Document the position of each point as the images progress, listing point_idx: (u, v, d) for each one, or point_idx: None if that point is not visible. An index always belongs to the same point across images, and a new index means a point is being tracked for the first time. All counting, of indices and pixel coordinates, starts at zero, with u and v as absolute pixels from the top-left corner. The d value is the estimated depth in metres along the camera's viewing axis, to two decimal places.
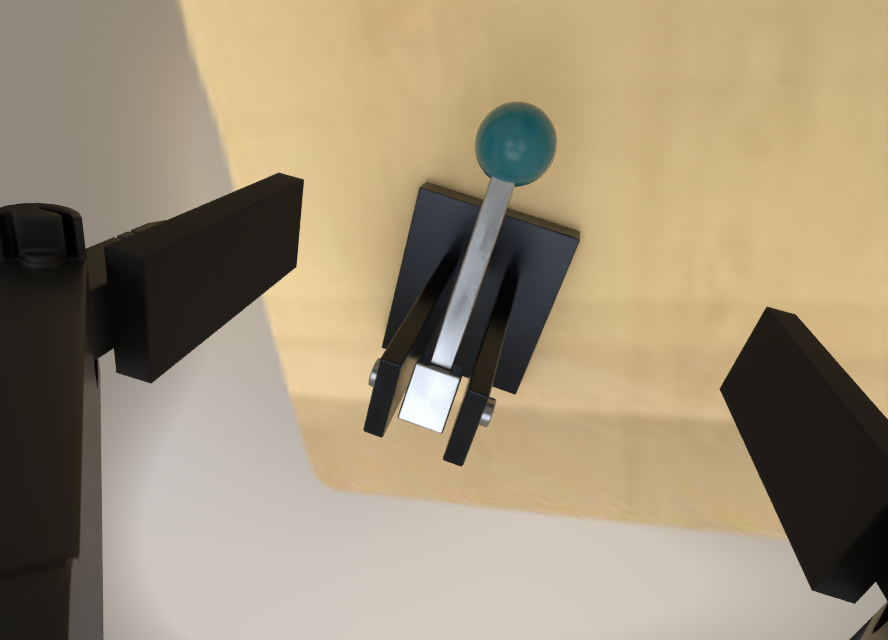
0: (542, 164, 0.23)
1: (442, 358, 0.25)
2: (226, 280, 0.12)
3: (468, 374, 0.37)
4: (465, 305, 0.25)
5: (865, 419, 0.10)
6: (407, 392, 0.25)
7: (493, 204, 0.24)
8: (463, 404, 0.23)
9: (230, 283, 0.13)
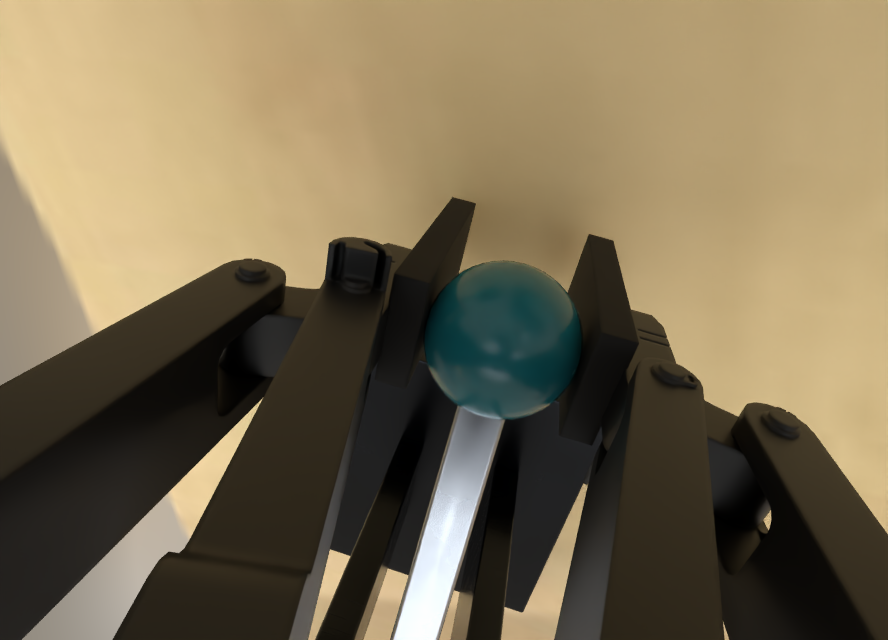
0: (558, 390, 0.11)
1: None
2: None
3: None
4: None
5: (607, 300, 0.12)
6: None
7: (465, 460, 0.12)
8: None
9: None
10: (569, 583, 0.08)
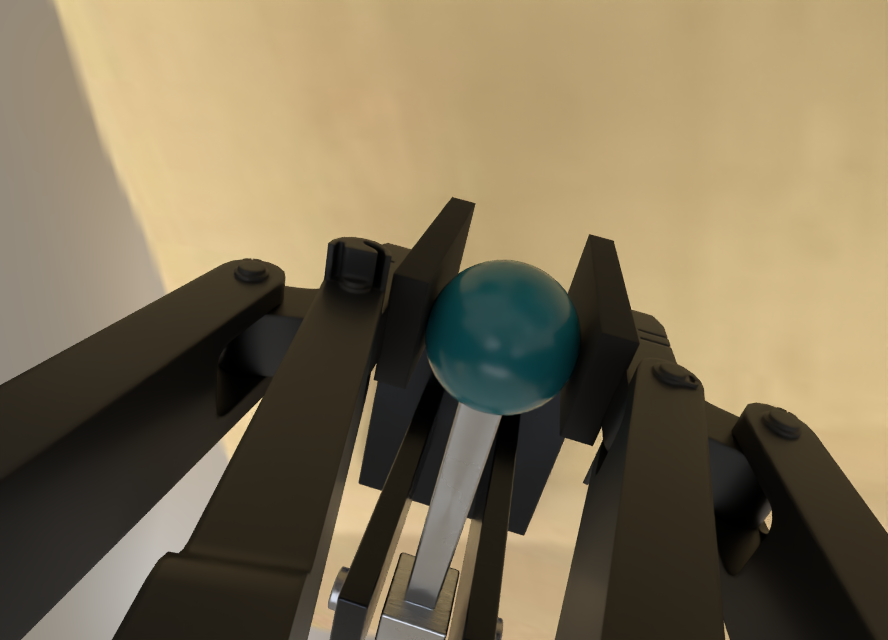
0: (551, 397, 0.12)
1: (420, 597, 0.17)
2: None
3: None
4: (442, 550, 0.16)
5: (608, 300, 0.12)
6: (377, 638, 0.18)
7: (470, 436, 0.14)
8: None
9: None
10: (570, 583, 0.08)
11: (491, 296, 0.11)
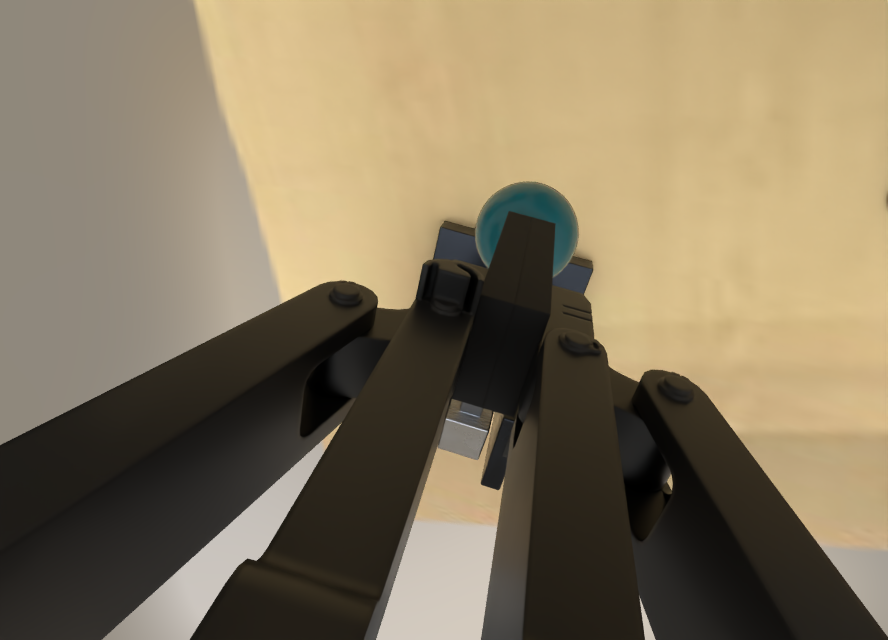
0: (557, 273, 0.19)
1: (470, 408, 0.26)
2: None
3: None
4: None
5: (531, 276, 0.12)
6: (442, 434, 0.27)
7: None
8: (499, 432, 0.25)
9: None
10: (495, 559, 0.08)
11: (518, 210, 0.17)
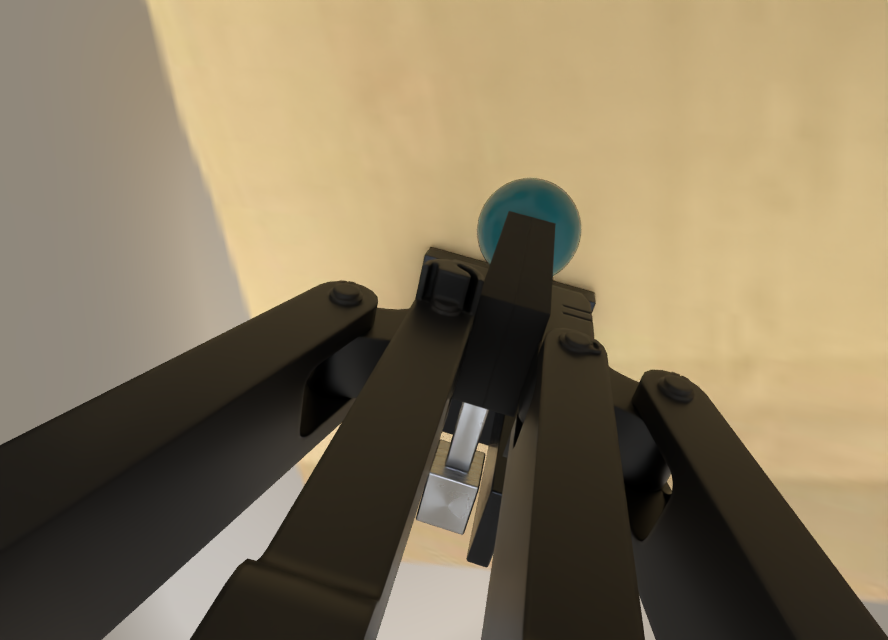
0: (562, 265, 0.18)
1: (458, 461, 0.23)
2: None
3: (483, 440, 0.36)
4: (478, 411, 0.22)
5: (530, 276, 0.12)
6: (423, 498, 0.23)
7: None
8: (487, 505, 0.22)
9: None
10: (495, 559, 0.08)
11: (525, 191, 0.17)
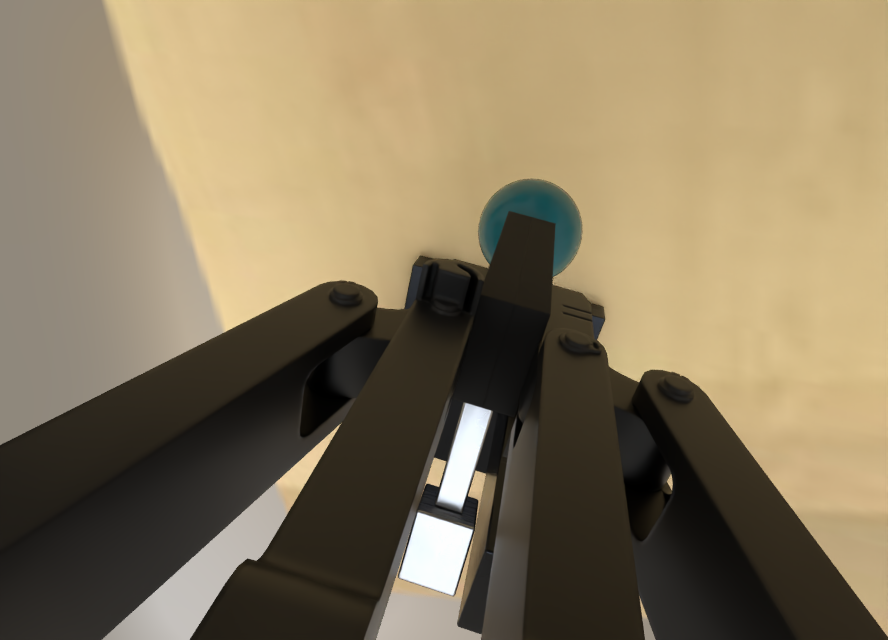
0: (566, 259, 0.18)
1: (450, 499, 0.20)
2: None
3: (479, 468, 0.32)
4: (475, 434, 0.19)
5: (530, 276, 0.12)
6: (408, 546, 0.20)
7: None
8: (480, 567, 0.18)
9: None
10: (495, 559, 0.08)
11: (528, 183, 0.18)
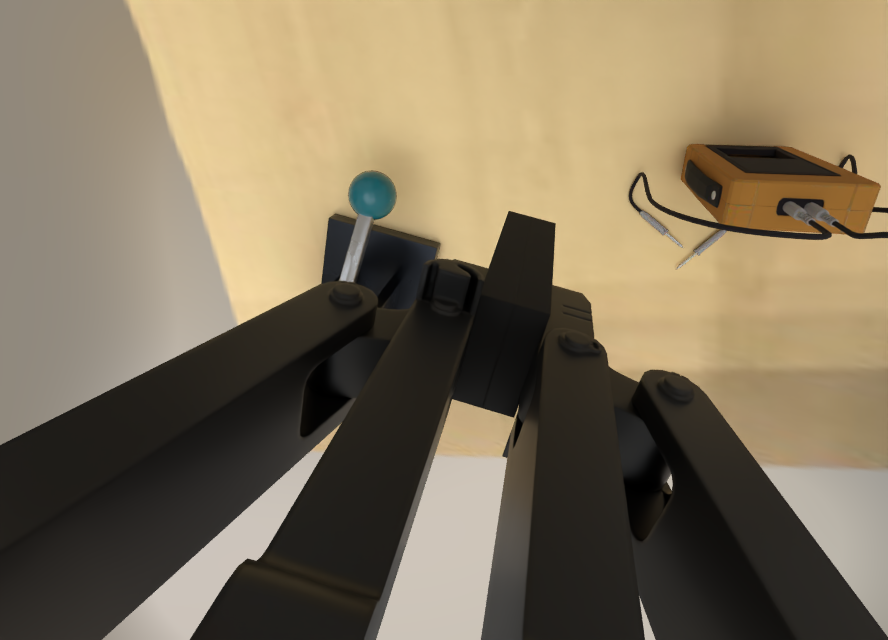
0: (386, 205, 0.39)
1: None
2: None
3: None
4: None
5: (530, 276, 0.12)
6: None
7: (360, 229, 0.40)
8: None
9: None
10: (495, 559, 0.08)
11: (369, 171, 0.39)
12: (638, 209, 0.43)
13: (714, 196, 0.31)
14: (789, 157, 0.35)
